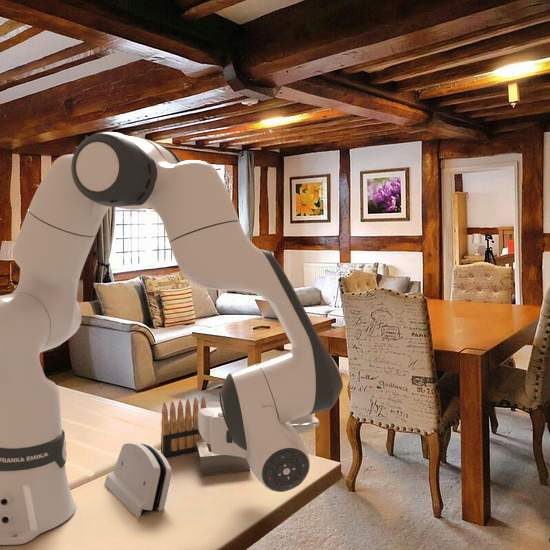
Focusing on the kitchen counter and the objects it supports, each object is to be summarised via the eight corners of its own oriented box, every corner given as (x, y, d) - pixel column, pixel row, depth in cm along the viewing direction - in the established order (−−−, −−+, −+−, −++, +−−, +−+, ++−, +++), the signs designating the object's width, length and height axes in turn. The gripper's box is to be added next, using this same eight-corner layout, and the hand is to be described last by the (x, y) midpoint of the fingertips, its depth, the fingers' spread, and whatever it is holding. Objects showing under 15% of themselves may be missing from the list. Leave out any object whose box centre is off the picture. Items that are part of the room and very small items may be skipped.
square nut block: (200, 476, 114) (200, 456, 113) (196, 456, 123) (195, 438, 123) (250, 470, 116) (249, 451, 116) (241, 451, 126) (241, 434, 125)
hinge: (103, 483, 111) (118, 432, 112) (125, 485, 114) (140, 435, 115) (137, 518, 98) (154, 460, 99) (162, 519, 101) (177, 463, 102)
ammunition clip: (163, 458, 123) (161, 404, 122) (160, 455, 124) (158, 402, 123) (210, 449, 128) (208, 396, 127) (207, 446, 129) (205, 394, 128)
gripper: (323, 408, 97) (301, 385, 111) (202, 417, 93) (194, 392, 106) (322, 444, 98) (300, 417, 111) (202, 455, 93) (195, 425, 107)
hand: (248, 405), depth 109 cm, fingers closed on pin, 4 cm apart
